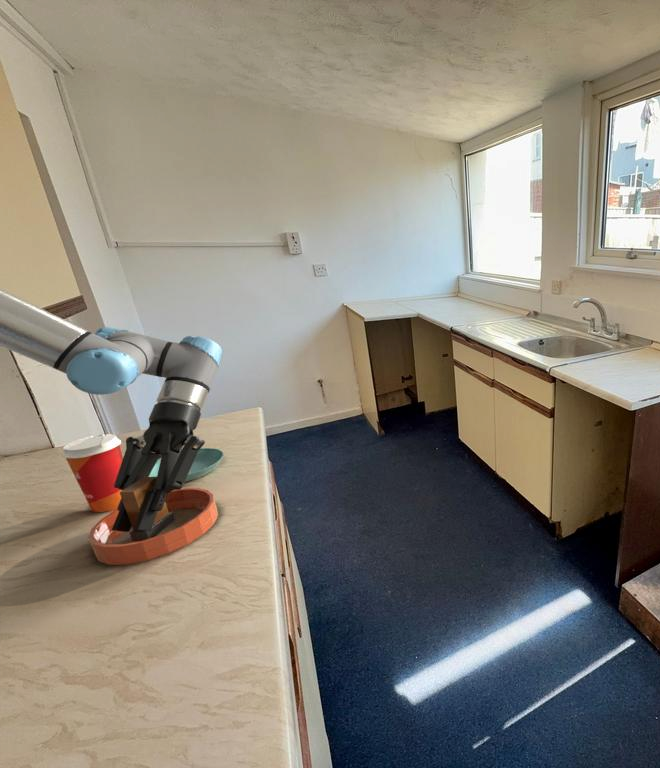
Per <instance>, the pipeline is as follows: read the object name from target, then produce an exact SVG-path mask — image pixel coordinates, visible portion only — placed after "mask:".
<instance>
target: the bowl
mask: <svg viewBox="0 0 660 768" xmlns="http://www.w3.org/2000/svg"><path fill="white" fill-rule="evenodd" d="M165 502H166V506H167V509H168V512H171V511H176V510H200V511H201V512H200V513H198V515H196V516H195V517H194V518H192V519H191V520H189V521H187V522H186V523H184V524H182V525H180V526H179V527H176V528H174V529H172V530H169V531H167V532H164V533H163V534H158V535H156V536H155V537H153V538H150V539H146V540H143V541H132V542H127V543H119V544H117V543H115V544H113V542H114V541H115V540H116V538H118V536H119V535H121V534H122V533H123V532H122V531H115V530H112V528H113V525H114V523H115V520H116V518H117V515H118V513H119V511H117V510H115V511H111V512H110V513H109V514H107V515H106V516H104V517H102V518H101V519H100V520H98V522H96V524H95V525H93V527H91V530H90V531H89V535H88V537H87V539H88V540H89V543H90V546H91V548H92V550H93V553H94V555H95V557H96V559H97V560H98V562H99V563H103V564H106V565H110V566H113V565H114V566H117V565H118V566H119V565H120V566H121V565H131V564H136V563H137V564H138V563H141V562H147V561H150V560H153V559H156V558H159V557H162V556H165V555H168V554H171V553H172V552H174V551H176V550H178V549H181V548H183V547H185V546H187V545H189V544H190V543H192V542H193V541H195V540H197V539H199V538H200V537H202V536H203V535H204V534H205V533H207V532H208V531H209V530H210V528H211V527H213V526H214V524H215V523H216V521H217V519H218V516H219V514H218V513H219V512H218V508H217V503H216V499H215V496H214V494H213V493H212V492H210V491H209V490H208V489H204V488H200V487H184V488H183V487H182V488H181V489H180V490H173V491H171V492H170V493H168V495H167V498H166V500H165Z"/></svg>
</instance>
